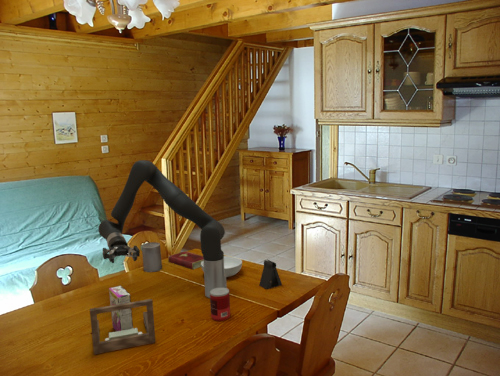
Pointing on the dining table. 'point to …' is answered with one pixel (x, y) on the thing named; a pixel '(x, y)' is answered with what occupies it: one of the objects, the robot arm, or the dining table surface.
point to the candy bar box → (120, 317)
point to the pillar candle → (151, 257)
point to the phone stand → (270, 276)
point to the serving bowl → (229, 265)
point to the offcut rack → (125, 341)
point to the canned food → (220, 304)
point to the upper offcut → (123, 333)
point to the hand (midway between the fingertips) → (124, 259)
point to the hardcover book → (186, 259)
